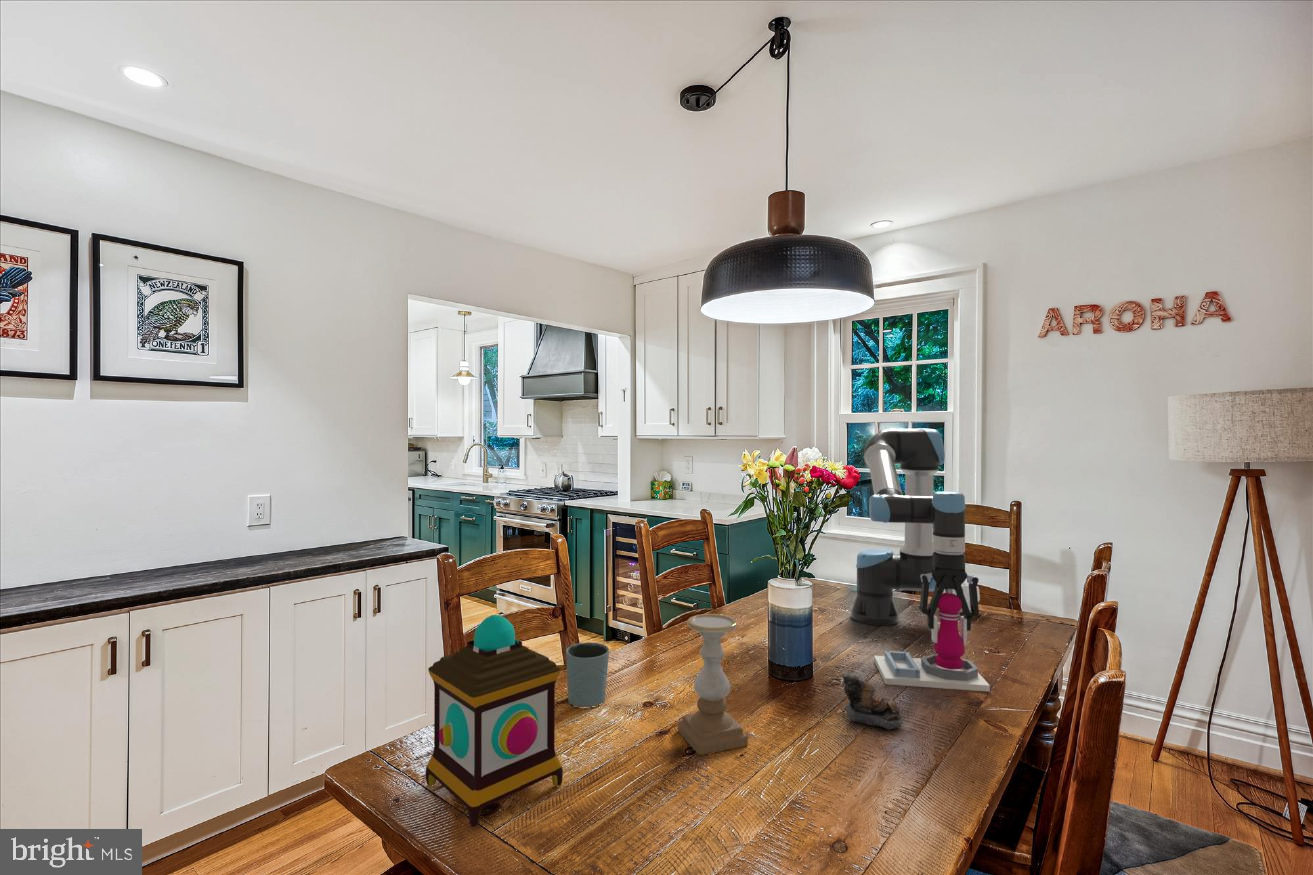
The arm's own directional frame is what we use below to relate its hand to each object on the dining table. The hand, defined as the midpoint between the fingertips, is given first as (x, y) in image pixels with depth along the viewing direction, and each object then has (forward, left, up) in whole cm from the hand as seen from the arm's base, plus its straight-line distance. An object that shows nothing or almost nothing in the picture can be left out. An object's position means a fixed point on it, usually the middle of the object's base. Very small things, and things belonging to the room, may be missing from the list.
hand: (948, 641), depth 154 cm
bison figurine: (+31, -24, -9) cm, 40 cm away
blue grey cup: (+31, -87, -9) cm, 93 cm away
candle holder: (+43, -57, -9) cm, 72 cm away
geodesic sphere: (-64, +21, -9) cm, 68 cm away
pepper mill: (0, 0, -6) cm, 6 cm away
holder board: (0, -5, -9) cm, 10 cm away
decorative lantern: (+67, -93, -9) cm, 115 cm away
